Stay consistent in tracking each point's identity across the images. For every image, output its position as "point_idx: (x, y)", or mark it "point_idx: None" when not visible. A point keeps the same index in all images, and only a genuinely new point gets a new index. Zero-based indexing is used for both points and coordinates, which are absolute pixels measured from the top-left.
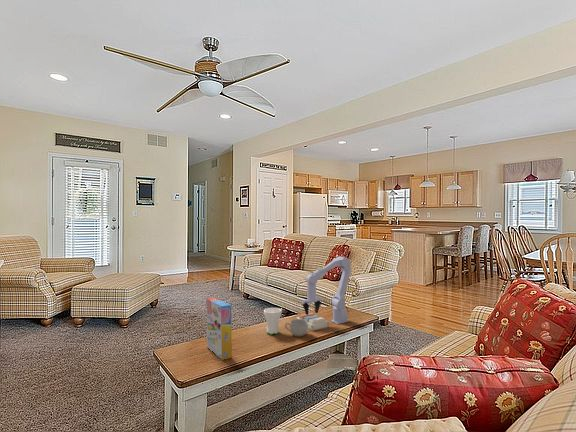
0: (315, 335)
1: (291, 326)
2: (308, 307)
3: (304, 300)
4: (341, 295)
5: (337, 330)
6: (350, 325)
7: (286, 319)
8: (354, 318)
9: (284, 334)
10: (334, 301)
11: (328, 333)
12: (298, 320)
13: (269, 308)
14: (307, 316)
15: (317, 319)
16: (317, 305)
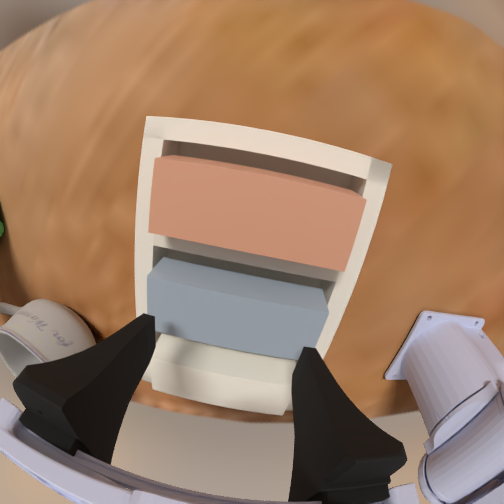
0: (139, 390)
1: (8, 344)
2: (113, 433)
3: (24, 462)
4: None
5: (286, 421)
6: (398, 409)
7: (170, 3)
8: (501, 348)
9: (18, 272)
10: (478, 463)
11: (213, 417)
12: (37, 349)
13: None
14: (191, 288)
15: (213, 398)
16: (296, 466)
